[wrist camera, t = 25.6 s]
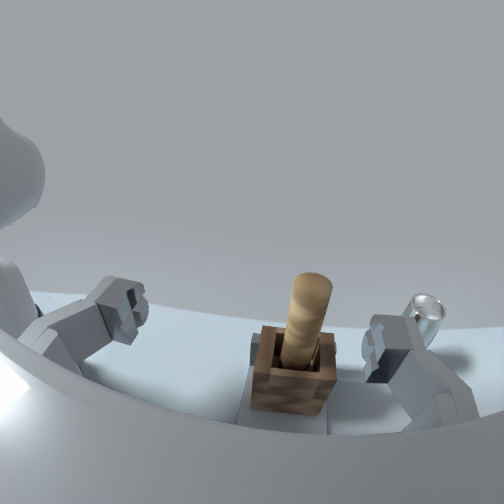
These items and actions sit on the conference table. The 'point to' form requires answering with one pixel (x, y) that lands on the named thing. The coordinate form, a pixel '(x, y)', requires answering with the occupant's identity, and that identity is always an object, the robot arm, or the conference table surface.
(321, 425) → the rail base
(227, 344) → the conference table surface
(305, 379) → the socket block
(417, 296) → the beer glass
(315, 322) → the dowel
